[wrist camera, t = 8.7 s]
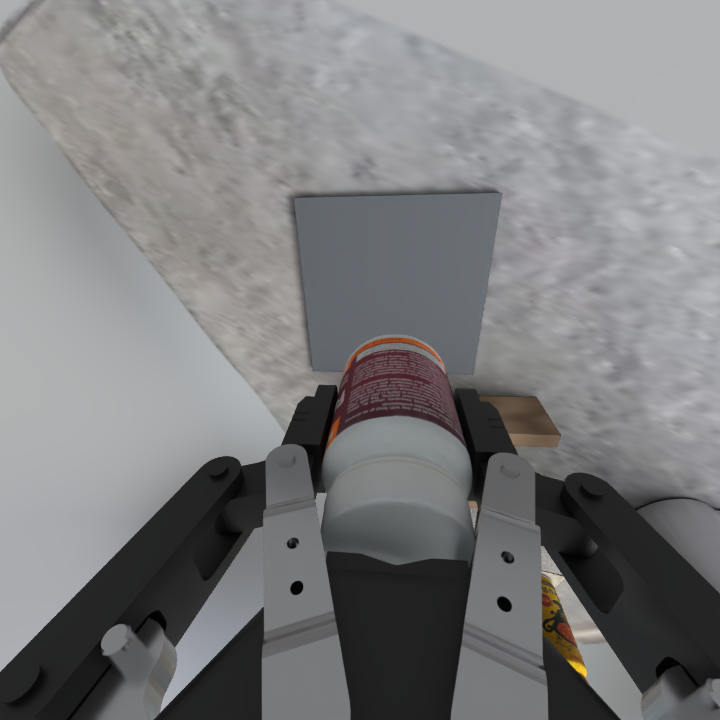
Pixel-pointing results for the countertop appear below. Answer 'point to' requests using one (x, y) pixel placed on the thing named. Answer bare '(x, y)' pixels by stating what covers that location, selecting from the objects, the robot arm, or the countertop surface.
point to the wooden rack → (524, 422)
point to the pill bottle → (397, 458)
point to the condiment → (558, 623)
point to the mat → (396, 272)
